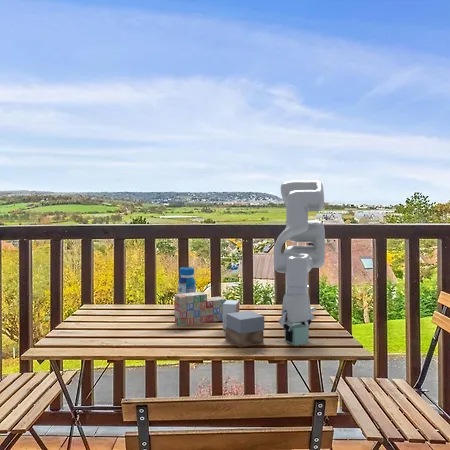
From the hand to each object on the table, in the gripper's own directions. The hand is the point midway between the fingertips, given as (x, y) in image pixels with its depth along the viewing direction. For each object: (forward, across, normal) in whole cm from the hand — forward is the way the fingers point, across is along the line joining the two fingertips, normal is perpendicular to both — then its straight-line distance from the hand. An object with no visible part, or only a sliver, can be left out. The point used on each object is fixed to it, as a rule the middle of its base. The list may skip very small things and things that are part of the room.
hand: (296, 339), depth 166 cm
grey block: (-4, +16, -10) cm, 19 cm away
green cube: (+1, 0, 0) cm, 1 cm away
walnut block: (+1, +16, -10) cm, 19 cm away
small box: (+1, +11, -28) cm, 30 cm away
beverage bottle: (+1, +14, -64) cm, 66 cm away
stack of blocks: (+1, +17, -43) cm, 47 cm away
